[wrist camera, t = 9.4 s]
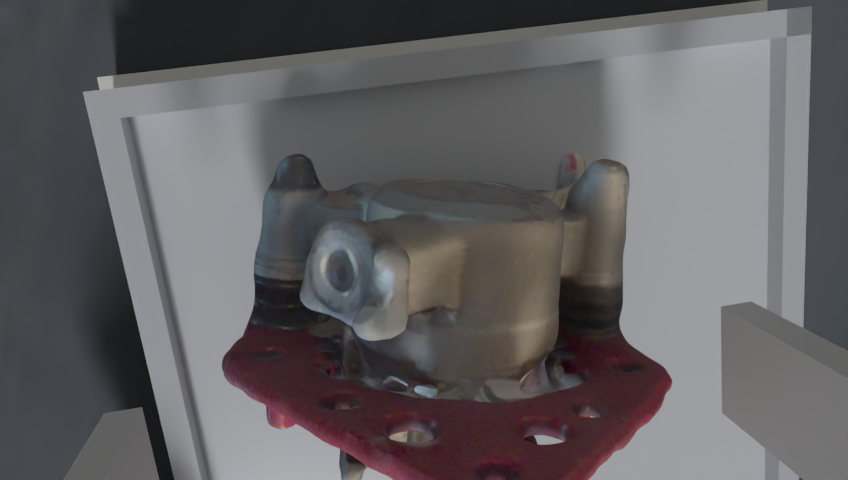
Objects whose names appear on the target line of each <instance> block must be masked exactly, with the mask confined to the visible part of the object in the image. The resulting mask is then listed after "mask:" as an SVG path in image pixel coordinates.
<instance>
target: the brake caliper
mask: <svg viewBox="0 0 848 480" xmlns="http://www.w3.org/2000/svg"><path fill="white" fill-rule="evenodd" d="M629 187H630V181H629V173H628V169H627V167H626V166H625V165H623V164H622V163H620V162H617V161H614V160H610V159H600V160H597V161H595V162H593V163H592V164H591V165H590V166H589V167H588V168H586V163H585V160H584V158H583V157H582V156H581V155H580V154H579V153H573V154H570V155H567V156H565V157H564V158H563V159H562V160H561V162H560V164H559V175H558V190H524V189H522V188H519V187H516V186H513V185H510V184H506V183H501V182H486V181H461V180H452V179H404V180H396V181H391V182H387V183H385V184H383V185H382V186H381V187H380V186H377V185H375V184H372V183H367V182H363V183H357V184H354V185H351V186H348V187H346V188H344V189H341V190H338V191H327V190H325V189H324V188H323V186H322V185H321V183H320V181H319V180H318V178H317V175H316V172H315V169H314V166H313V163H312V161H311V159H309V158H308V157H306V156H305V155H303V154H293V155H289V156H286V157H285V158H284V159H283V160H281V161H280V162H279V164H278V167H277V170H276V173H275V176H274V179H273V181H272V183H271V185H270V186H269V188H268V189H267V191H266V193H265V196H264V201H263V212H262V228H261V234H260V239H259V243H258V247H257V250H256V254H255V261H254V282H255V298H254V306H253V310H252V313H251V316H250V319H249V321H248V324H247V327H246V329H245V331H244V335H243V336H242V337H241V338H240V339H239V340H237V341H236V342H235V343H234V344H233V345H232V347H231V349H230V350H229V351H228V352H227V353H226V354H225V355H224V357H223V360H222V370H223V372H224V377H225V378H226V380H227V381H228V382H229V383H230V384H231V385H233V386H235V387H237V388H239V389H241V390H242V391H243V392H245V394H246V395H248V396H249V397H250V398H251V399H253V400H255V401H258V402H260V403H263V404H265V405H266V415H267V420H268V423H269V424H270V425H271V426H272V427H274V428H277V429H287V428H290V427H292V426H294V425H295V424H297V425H299V426H301V427H302V428H304V429H306V430H307V431H309V432H310V433H312V434H313V435H315V436H316V437H317V438H319V439H320V440H322V441H324V442H326V443H328V444H329V445H332V446H334V447H337V448H339V449H340V459H339V467H340V472H341V480H361V479H362V477H363V474H364V470H365V469H366V468H371V469H373V470H375V471H377V472H379V473H382V474H384V475H386V476H388V477H390V478H391V479H393V480H589V479H590V478H591V477H592V476H593V475H594V474H595V472H596V471H597V469H598V468H599V467H600V466H601V465H602V464H603V463H605V462H606V461H607V460H608V459H609V458H610V457H611V455H612V454H613V453H614V452H615V451H618V450H621V449H623V448H624V447H625V446H626V445H627V444H628V443H629V442H630V441H631V439H632V438H633V436H634V435H635V433H636V432H637V430H639V429H640V428H641V427H642V426H644V425H646V424H647V423H649V421H650V420H651V419H652V418H653V417H654V416H655V415H656V413H657V412H658V411H659V410H660V408H661V406H662V403H663V401H664V397H665V394H666V393H667V392H668V391H669V390H670V388H671V386H672V379H671V377H670V375H669V374H668V372H667V371H666V369H665V368H664V367H663V366H662V365H660V364H659V363H657V362H655V361H654V360H652V359H650V358H649V357H647V356H646V355H644V354H643V353H641V352H640V351H639V350H637V349H635V348H634V347H633V346H631V345H630V344H629V343H628V342H627V341H626V339H625V338H624V336H623V334H622V332H621V330H620V325H619V319H620V315H621V311H622V306H623V254H624V246H625V240H626V216H627V201H628V194H629ZM590 416H593V417H590ZM534 435H545V436H550V437H553V438H557V439H559V440H561V441H564V442H561V443H556V444H549V445H539V444H537V441H536V438H535V437H534Z"/></svg>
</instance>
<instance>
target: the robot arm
mask: <svg viewBox="0 0 848 480" xmlns="http://www.w3.org/2000/svg"><path fill="white" fill-rule="evenodd" d="M721 371H722V413H723V414H724V415H725V416H726V417H728V418H729V419H730V420H731V421H732V422H734V423H735V424H736V425H737V426H739V427H740V428H741V429H742V430H743V431H745V432H746V433H747V434H748V435H750V436H751V437H752V438H753V439H754V440H756V441H757V442H758V443H759V444H760V445H762V446H763V447H764V448H765V449H767V450H768V451H769V452H770V453H771V454H773V455H774V456H775V457H776V458H777V459H779V460H780V461H781V462H782V463H784V464H785V465H786V466H787V467H788V468H790V469H791V470H792V471H793V472H794V473H796V474H797V475H798V476H799V477H801V478H802V479H803V480H848V351H847V350H845V349H843V348H841V347H839V346H837V345H835V344H833V343H831V342H829V341H827V340H825V339H823V338H821V337H819V336H818V335H816V334H814V333H812V332H810V331H808V330H806V329H804V328H802V327H800V326H798V325H796V324H794V323H792V322H790V321H788V320H786V319H784V318H782V317H781V316H779V315H777V314H775V313H773V312H771V311H769V310H767V309H765V308H763V307H761V306H759V305H757V304H755V303H753V302H751V301H750V302H745V303H739V304H733V305H727V306H722V307H721ZM63 480H159V476H158V472H157V468H156V464H155V459H154V455H153V451H152V447H151V443H150V438H149V434H148V430H147V426H146V422H145V418H144V413H143V409H142V407H138V408H133V409H127V410H121V411H115V412H110V413H104V415H103V416H102V418H101V419H100V421H99V423H98V424H97V426H96V428H95V429H94V431H93V432H92V434H91V436H90V437H89V439H88V440H87V442H86V444H85V445H84V447H83V449H82V450H81V452H80V453H79V455H78V457H77V458H76V460H75V462H74V463H73V465H72V466H71V468H70V470H69V471H68V473H67V475H66V476H65V478H64V479H63Z"/></svg>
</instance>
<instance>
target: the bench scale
mask: <svg viewBox="0 0 848 480" xmlns="http://www.w3.org/2000/svg"><path fill="white" fill-rule="evenodd" d="M811 25H812V6H809V7H801V8H793V9H784V10H776V11H767V0H761V1H753V2H744V3H735V4H727V5H718V6H709V7H701V8H692V9H684V10H675V11H666V12H658V13H649V14H640V15H632V16H623V17H614V18H606V19H597V20H589V21H580V22H571V23H563V24H554V25H545V26H537V27H528V28H519V29H511V30H502V31H494V32H485V33H476V34H468V35H459V36H450V37H442V38H433V39H425V40H416V41H407V42H399V43H390V44H381V45H373V46H364V47H355V48H347V49H338V50H330V51H321V52H312V53H304V54H295V55H286V56H278V57H269V58H260V59H252V60H243V61H235V62H226V63H217V64H209V65H200V66H191V67H183V68H174V69H166V70H157V71H148V72H140V73H131V74H122V75H114V76H105V77H97V79H98V84H99V88H100V90H96V91H88V92H83V95H84V99H85V103H86V107H87V112H88V116H89V120H90V124H91V129H92V133H93V137H94V141H95V145H96V150H97V154H98V158H99V162H100V167H101V171H102V175H103V179H104V184H105V188H106V192H107V196H108V201H109V205H110V209H111V213H112V218H113V222H114V226H115V230H116V235H117V239H118V243H119V247H120V252H121V256H122V260H123V264H124V269H125V273H126V277H127V281H128V285H129V290H130V294H131V298H132V302H133V307H134V311H135V315H136V319H137V324H138V328H139V332H140V336H141V341H142V345H143V349H144V353H145V358H146V362H147V366H148V370H149V375H150V379H151V383H152V387H153V392H154V396H155V400H156V404H157V409H158V413H159V417H160V421H161V425H162V430H163V434H164V438H165V442H166V447H167V451H168V455H169V459H170V464H171V468H172V472H173V476H174V480H341V472H340V467H339V459H340V449H339V448H337V447H334V446H332V445H329V444H328V443H326V442H324V441H322V440H320V439H319V438H317V437H316V436H315V435H313V434H312V433H310V432H309V431H307V430H306V429H304V428H302V427H301V426H299V425H297V424H295V425H294V426H292V427H290V428H287V429H277V428H274V427H272V426H271V425H270V424H269V423H268V420H267V415H266V405H265V404H263V403H260V402H258V401H255V400H253V399H251V398H250V397H249V396H248V395H246V394H245V392H243V391H242V390H241V389H239V388H237V387H235V386H233V385H231V384H230V383H229V382H228V381H227V380H226V378H225V377H224V372H223V370H222V360H223V357H224V355H225V354H226V353H227V352H228V351H229V350H230V349H231V347H232V345H233V344H234V343H235V342H236V341H237V340H239V339H240V338H241V337H242V336H243V335H244V331H245V329H246V327H247V324H248V321H249V319H250V316H251V313H252V310H253V306H254V298H255V282H254V261H255V254H256V250H257V247H258V243H259V239H260V234H261V228H262V212H263V201H264V196H265V193H266V191H267V189H268V188H269V186H270V185H271V183H272V181H273V179H274V176H275V173H276V170H277V167H278V164H279V162H280V161H281V160H283V159H284V158H285V157H286V156H289V155H293V154H303V155H305V156H306V157H308V158H309V159H311V161H312V163H313V166H314V169H315V172H316V175H317V178H318V180H319V181H320V183H321V185H322V186H323V188H324V189H325V190H327V191H338V190H341V189H344V188H346V187H348V186H351V185H354V184H357V183H363V182H367V183H372V184H375V185H377V186H380V187H381V186H382V185H383V184H385V183H387V182H391V181H396V180H404V179H452V180H461V181H486V182H501V183H506V184H510V185H513V186H516V187H519V188H522V189H524V190H558V175H559V164H560V162H561V160H562V159H563V158H564V157H565V156H567V155H570V154H573V153H579V154H580V155H581V156H582V157H583V158H584V160H585V163H586V168H588V167H589V166H590V165H591V164H592V163H593V162H595V161H597V160H600V159H610V160H614V161H617V162H620V163H622V164H623V165H625V166H626V167H627V169H628V173H629V181H630V187H629V194H628V201H627V216H626V240H625V246H624V254H623V306H622V311H621V315H620V319H619V325H620V330H621V332H622V334H623V336H624V338H625V339H626V341H627V342H628V343H629V344H630V345H631V346H633V347H634V348H635V349H637V350H639V351H640V352H641V353H643V354H644V355H646V356H647V357H649V358H650V359H652V360H654V361H655V362H657V363H659V364H660V365H662V366H663V367H664V368H665V369H666V371H667V372H668V374H669V375H670V377H671V379H672V386H671V388H670V390H669V391H668V392H667V393H666V394H665V397H664V401H663V403H662V406H661V408H660V410H659V411H658V412H657V413H656V415H655V416H654V417H653V418H652V419H651V420H650V421H649V423H647V424H646V425H644V426H642V427H641V428H640V429H639V430H637V432H636V433H635V435H634V436H633V438H632V439H631V441H630V442H629V443H628V444H627V445H626V446H625V447H624V448H623V449H621V450H618V451H615V452H614V453H613V454H612V455H611V457H610V458H609V459H608V460H607V461H606V462H605V463H603V464H602V465H601V466H600V467H599V468H598V469H597V471H596V472H595V474H594V475H593V476H592V477H591V478H590V479H589V480H799V476H798V475H797V474H796V473H794V472H793V471H792V470H791V469H790V468H788V467H787V466H786V465H785V464H784V463H782V462H781V461H780V460H779V459H777V458H776V457H775V456H774V455H773V454H771V453H770V452H769V451H768V450H767V449H765V448H764V447H763V446H762V445H760V444H759V443H758V442H757V441H756V440H754V439H753V438H752V437H751V436H750V435H748V434H747V433H746V432H745V431H743V430H742V429H741V428H740V427H739V426H737V425H736V424H735V423H734V422H732V421H731V420H730V419H729V418H728V417H726V416H725V415H724V414H723V413H722V371H721V307H722V306H727V305H733V304H739V303H745V302H750V301H751V302H753V303H755V304H757V305H759V306H761V307H763V308H765V309H767V310H769V311H771V312H773V313H775V314H777V315H779V316H781V317H782V318H784V319H786V320H788V321H790V322H792V323H794V324H796V325H798V326H800V327H802V328H803V317H804V281H805V244H806V208H807V171H808V135H809V98H810V62H811ZM590 417H593V416H590ZM534 437H535V438H536V441H537V444H539V445H549V444H556V443H561V442H564V441H561V440H559V439H557V438H553V437H550V436H545V435H534ZM361 480H393V479H391V478H390V477H388V476H386V475H384V474H382V473H379V472H377V471H375V470H373V469H371V468H366V469H365V470H364V474H363V477H362V479H361Z"/></svg>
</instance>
